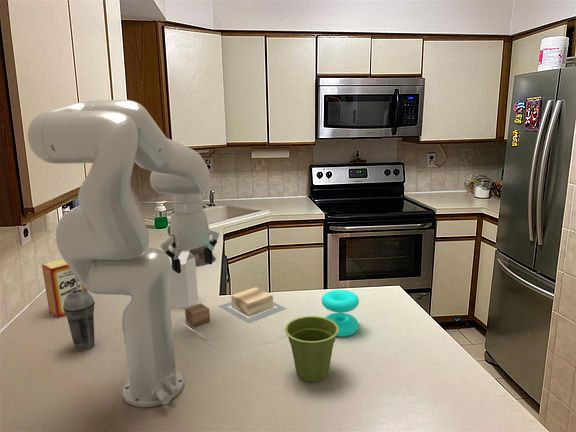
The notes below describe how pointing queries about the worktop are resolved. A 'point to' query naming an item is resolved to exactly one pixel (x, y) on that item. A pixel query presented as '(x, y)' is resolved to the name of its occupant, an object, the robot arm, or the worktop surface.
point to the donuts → (342, 310)
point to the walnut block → (197, 315)
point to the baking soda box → (58, 285)
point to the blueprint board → (254, 317)
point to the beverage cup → (80, 318)
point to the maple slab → (252, 301)
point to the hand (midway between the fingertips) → (193, 267)
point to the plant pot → (312, 346)
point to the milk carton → (183, 282)
